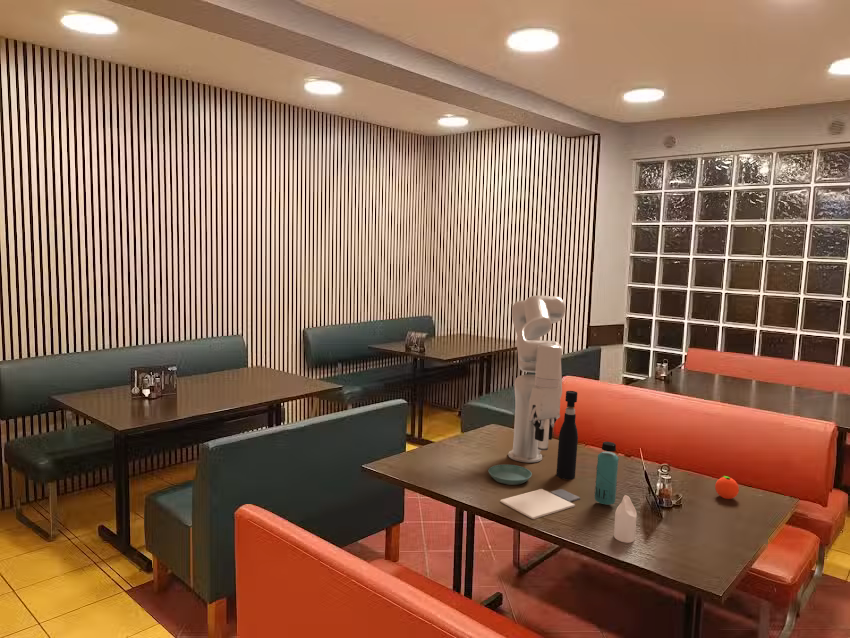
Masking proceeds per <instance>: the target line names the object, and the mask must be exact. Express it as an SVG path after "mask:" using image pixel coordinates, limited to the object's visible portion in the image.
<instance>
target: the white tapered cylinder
mask: <svg viewBox="0 0 850 638" xmlns="http://www.w3.org/2000/svg"><path fill="white" fill-rule="evenodd" d="M637 514H638V513H637V510H636V508H635V506H634V504H633V502H632V500H631V498H630V496H628V495H626V494H625V495H624V496H623V497H622V500H621V502H620V503H619V505H618V506H617V508H616V510H615V513H614V527H613V528H614V530H613V535H614V536H613V537H614V539H616V540H617V541H619V542H621V543H624V544H626V543H627V544H628V543H633V542H635V539H636V529H637V516H638V515H637Z"/></svg>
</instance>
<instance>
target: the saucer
mask: <svg viewBox="0 0 850 638" xmlns="http://www.w3.org/2000/svg"><path fill="white" fill-rule="evenodd" d="M488 474H489V475H490V476H491V478H492V479H494V481H496V482H498V483H500V484H502V485H503V484H504V485H511V486H512V485H513V486H518V485H521V484H525V482H527V481H529V479H531V477H532V476H533V473H532V472H531V470H529V469H528V468H526V467H523V466H520V465H517V464H516V465H515V464H507V463H506V464H497V465H496V464H495V465H493V466H491V467H489V468H488Z"/></svg>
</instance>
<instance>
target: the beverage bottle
mask: <svg viewBox="0 0 850 638" xmlns="http://www.w3.org/2000/svg"><path fill="white" fill-rule="evenodd" d="M616 447H617V444H616V443H615V442H612V441H603V442H602V446H601V450H602V452H600V453H598V455H597V463H596V464H597V466H596V468H595V470H596V473H595V476H596V477H595V486H594V494H593V495H594V500H595V502H597V503H599V504H602V505H608V506H609V505H614V504H615V503H616V500H617V499H616V498H617V487H618V486H617V485H618V483H617V482H618V481H617V480H618V471H619V470H618V469H619V460H620V459H619V456H617V454H616V453H615V452H616V450H617V448H616Z"/></svg>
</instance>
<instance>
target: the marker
mask: <svg viewBox="0 0 850 638" xmlns="http://www.w3.org/2000/svg"><path fill="white" fill-rule="evenodd" d="M539 423H540V421H539ZM549 424H550V419H544V423H543V428H542V429H544V439H543V441H538V449H539V450H541V451H548V450H549Z"/></svg>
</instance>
